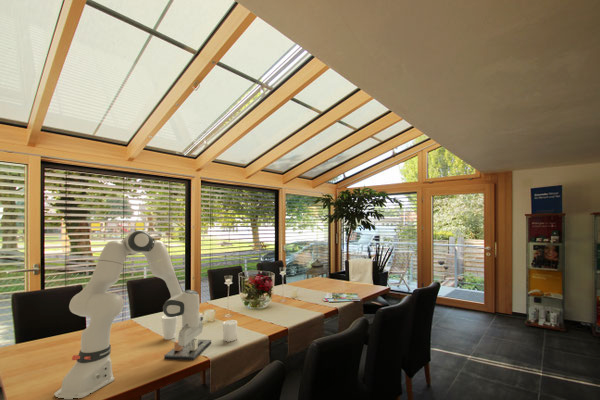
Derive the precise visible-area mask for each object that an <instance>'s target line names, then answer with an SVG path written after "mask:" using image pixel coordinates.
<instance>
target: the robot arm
mask: <svg viewBox="0 0 600 400" xmlns="http://www.w3.org/2000/svg"><path fill="white" fill-rule="evenodd" d="M137 254H142V255H144V256H145V258H146V261H147V265H148V267H149V270H150V272H151V273H152V275H153V276H154V277H156V278H159V279H161V280H163V281H164V282H165V284H166V287H167V288H168V291H169V293H170V298H169V299H167V300H166V301H165V302H164V304H163V306H162V311H163V313H164V315H166V316H168V317H176V316H178V317H179V316H180V317H181V326H182V327H181V328H180V330H179V331H178V332H179V333H178V338H177V340H178V345H179V346H186V345H188V349H191V348H192V347H193V346H194V341H195V339H196V337H198V336H199V335H201V334H202V332H203V325H204V322H203V321H204V316H203V315H200V314H201V313H200V308H201V307H200V301H201V300H200V295H199V293H198V291H196V290H193V289H186V290H183V288H182V286H181V284H180V282H179V278H178V275H177V274H176V272H175V269H174V266H173V263H172V260H171V257H170V254H169V251H168V248H167V247H166V245H165V243H164V242H163V241H162V240H160V239H159V240H158V239H154V238H153V237H152V236H151V235H150V233H148V232H146V231H145V230H136V231H135V230H134V231H133V232H131V233H129V234H128V235H126V236H125V237H124V238H123V239H121V240H111V241H108V242H107V243H106V244H105V245H104V246H103V249H102V251H101V252H100V255H99V257H98V260H97V263H96V265H95V267H94V271H93V273H92V275H91V278H90V279H89V280H88V282H87V284H86V285H85V286H84V287H83V289H82V290H80V292H78V293H76V294H75V295H74V296H73V297H72V298H71V299H70V301H69V305H68V308H69V311H70V312H71V313H72V314H74V315H77V316H79V317H84V318H87V317H88V318H90V320H89V321H90V322H89V325H88V327H86V328H84V330H82V331H81V335H80V350H79V352H78V354H74V355H72V357H71V360H72V361H76V362H75V364H74V365H73V366H72V367H71V369H70V370H69V371H68V372H67V373H66V375H65V376H64V377H63V379H62V382H61V387H60V388H59V389H58V390H57V391H55V392H54V393H53V396H54V395H55V396H56V397H58V398H64V399H63V400H74V399H73V398H78V399H83V398H86V397H87V396H89V395H90V393H91V394H92V393H94V392H96V391H98V390H99V389H101V388H103V387H105V386H107V385H108V384H111V383H112V382H114V380H115V377H114V374H113V367H112V366H113V365H112V359H111V351H112V348H111V343H110V342H111V341H110V340H111V329H112V325H113V322H114V320H115V319H116V317H118V316H119V315H120V314H121V312H123V309H124V305H125V301H124V298H123V296H121V295H118V294H117V293H113V292H108V290H109V289H110V288H112V286H113V285H115V284H117V282H118V281H119V280H120V277H121V273H122V270H123V267H124V263H125V259H126V258H127V256H132V255H133V256H134V255H137ZM58 398H57V399H58Z"/></svg>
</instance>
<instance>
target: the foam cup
mask: <svg viewBox="0 0 600 400" xmlns="http://www.w3.org/2000/svg"><path fill="white" fill-rule="evenodd" d="M178 320H179V316H176V317H168V316H166V315H165V314H164V315H161V323H162V332H163V339H164V340H166V341H167V340H173V339H175V338H176V332H177V328H178V327H177V326H178Z"/></svg>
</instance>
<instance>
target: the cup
mask: <svg viewBox="0 0 600 400" xmlns="http://www.w3.org/2000/svg"><path fill="white" fill-rule="evenodd" d="M222 327H223V329H222V330H223V333H222V339H223V341H224V342H226V341H227V343H229V342H230V341H231V342H235V341H236V340H237V339H238V321H237V320H235V319H228V320H225V321H223V324H222ZM234 340H235V341H234Z"/></svg>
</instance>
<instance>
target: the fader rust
mask: <svg viewBox="0 0 600 400" xmlns="http://www.w3.org/2000/svg"><path fill="white" fill-rule="evenodd" d="M173 348H174V351H180V350H181V349H183V346H179V345H178V339H177V340H176V341H174V347H173Z"/></svg>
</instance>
